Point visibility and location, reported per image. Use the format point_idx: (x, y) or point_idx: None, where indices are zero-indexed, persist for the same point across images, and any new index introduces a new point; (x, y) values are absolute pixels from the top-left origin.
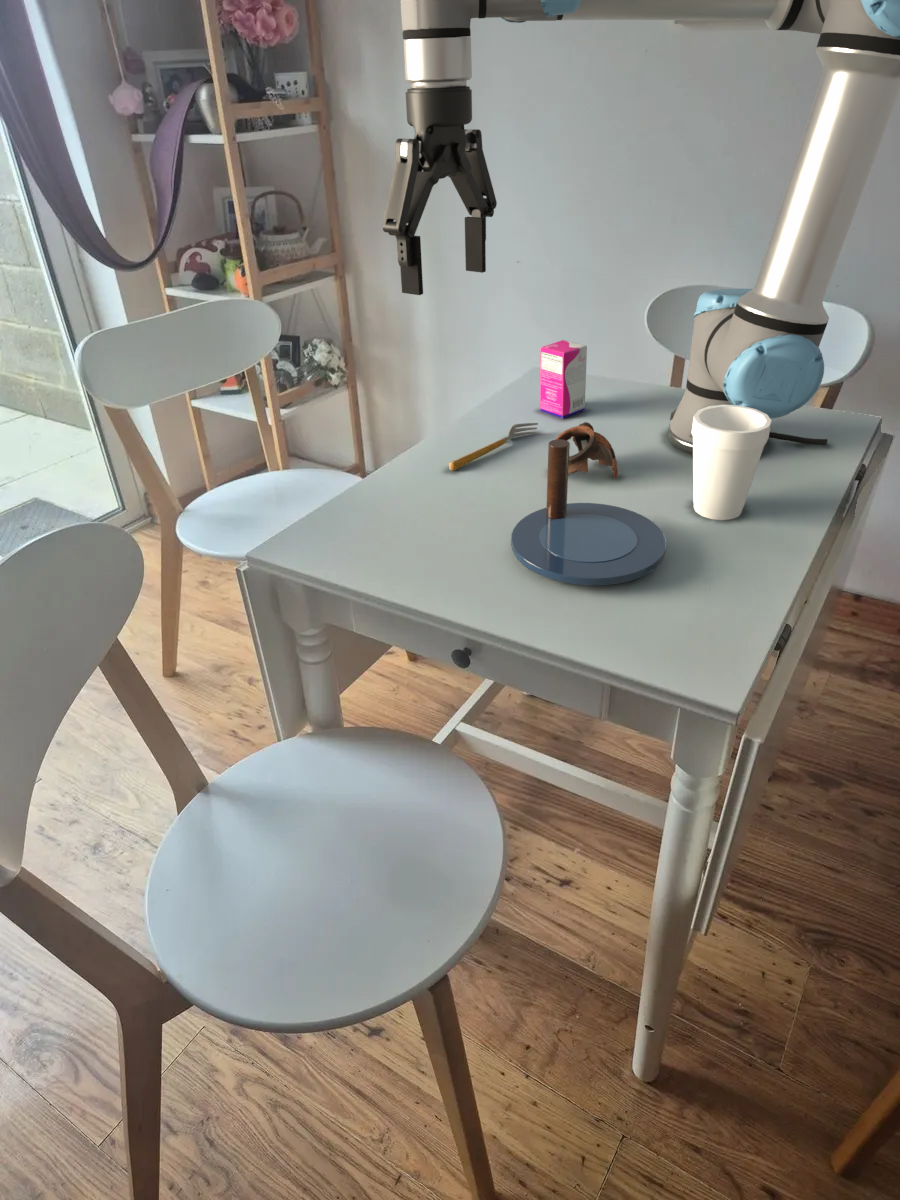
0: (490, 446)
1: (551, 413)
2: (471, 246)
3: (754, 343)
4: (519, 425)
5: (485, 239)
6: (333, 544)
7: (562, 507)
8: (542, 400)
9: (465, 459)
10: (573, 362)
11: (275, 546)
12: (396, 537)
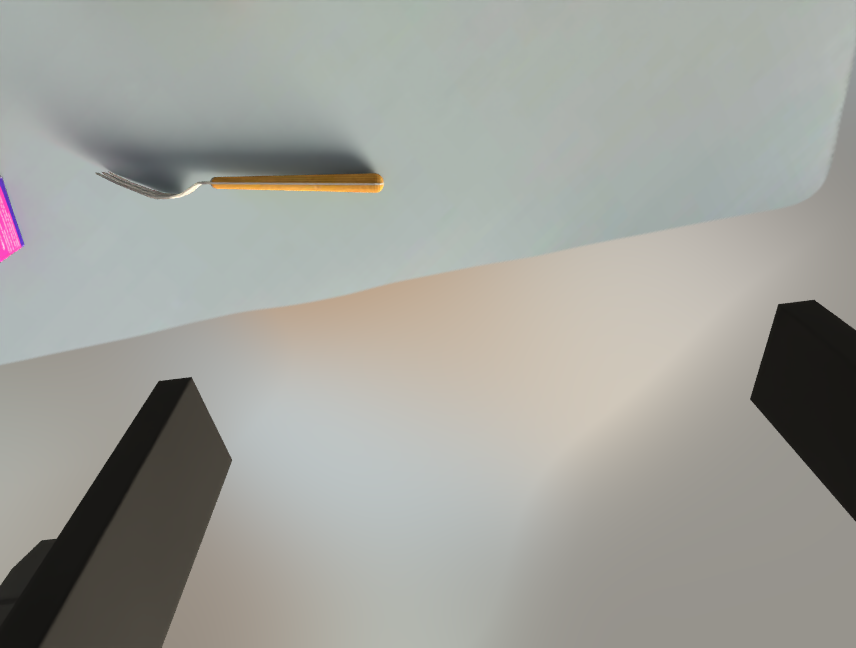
0: (260, 179)
1: (12, 211)
2: (166, 549)
3: None
4: (145, 193)
5: (25, 560)
6: (736, 131)
7: None
8: (6, 249)
9: (343, 177)
10: None
11: (778, 203)
12: (665, 53)
